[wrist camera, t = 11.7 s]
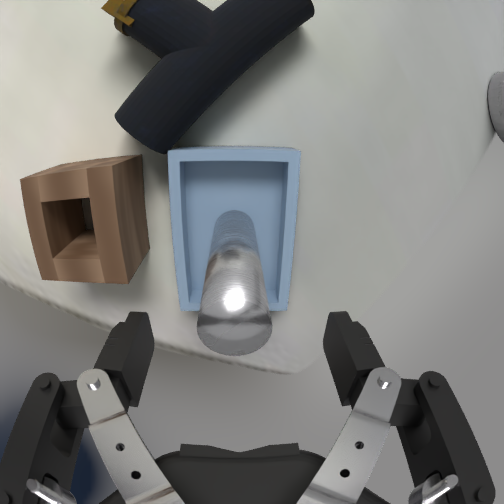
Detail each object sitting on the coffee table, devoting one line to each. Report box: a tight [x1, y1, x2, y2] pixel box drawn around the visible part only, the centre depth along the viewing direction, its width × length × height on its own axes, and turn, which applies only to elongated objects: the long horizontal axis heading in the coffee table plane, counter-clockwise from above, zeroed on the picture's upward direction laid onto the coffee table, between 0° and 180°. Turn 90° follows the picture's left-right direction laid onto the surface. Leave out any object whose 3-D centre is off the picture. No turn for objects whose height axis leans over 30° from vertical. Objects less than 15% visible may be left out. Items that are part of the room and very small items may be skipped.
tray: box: [168, 146, 301, 311], centre depth 22 cm, size 9×13×3 cm
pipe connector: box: [102, 0, 314, 154], centre depth 15 cm, size 12×5×15 cm
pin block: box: [20, 155, 150, 284], centre depth 19 cm, size 8×8×6 cm
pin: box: [197, 210, 272, 356], centre depth 17 cm, size 3×3×12 cm
